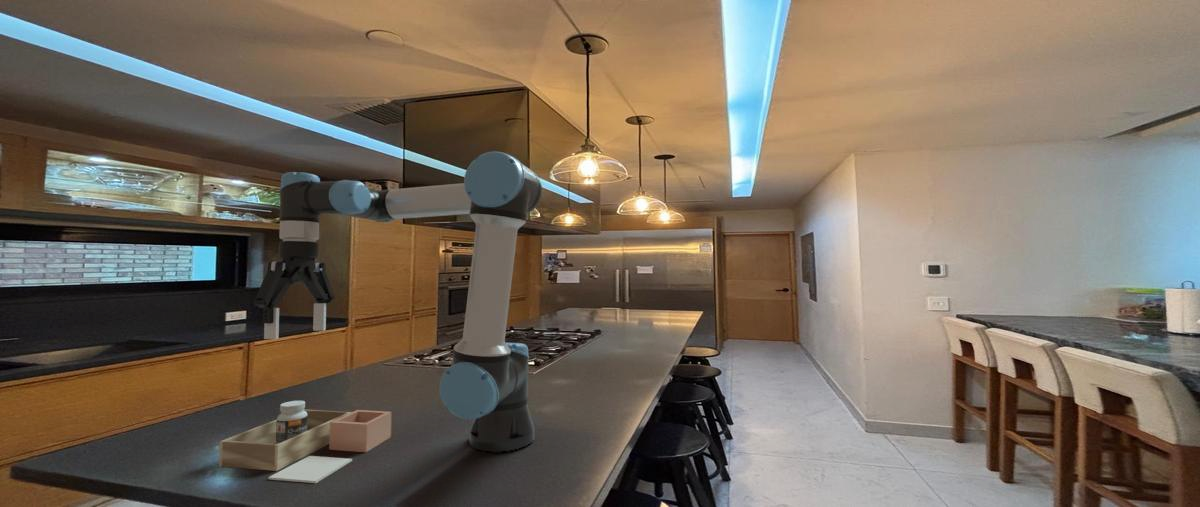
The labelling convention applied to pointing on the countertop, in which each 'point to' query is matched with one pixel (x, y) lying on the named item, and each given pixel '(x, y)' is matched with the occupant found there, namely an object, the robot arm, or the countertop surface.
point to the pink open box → (360, 430)
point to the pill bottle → (291, 420)
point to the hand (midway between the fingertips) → (296, 334)
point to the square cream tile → (310, 469)
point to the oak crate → (265, 455)
